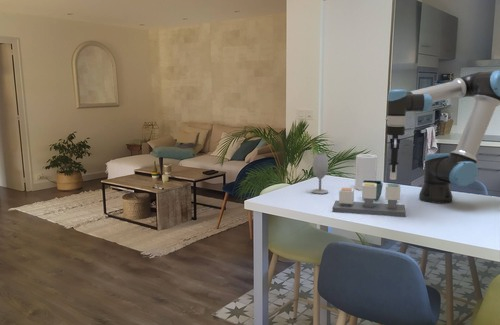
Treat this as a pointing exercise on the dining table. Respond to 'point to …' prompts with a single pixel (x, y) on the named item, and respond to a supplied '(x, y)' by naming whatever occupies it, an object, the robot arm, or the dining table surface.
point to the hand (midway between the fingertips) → (392, 179)
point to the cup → (365, 169)
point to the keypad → (371, 208)
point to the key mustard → (369, 190)
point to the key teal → (392, 192)
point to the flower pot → (378, 189)
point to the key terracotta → (346, 195)
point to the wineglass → (320, 170)
